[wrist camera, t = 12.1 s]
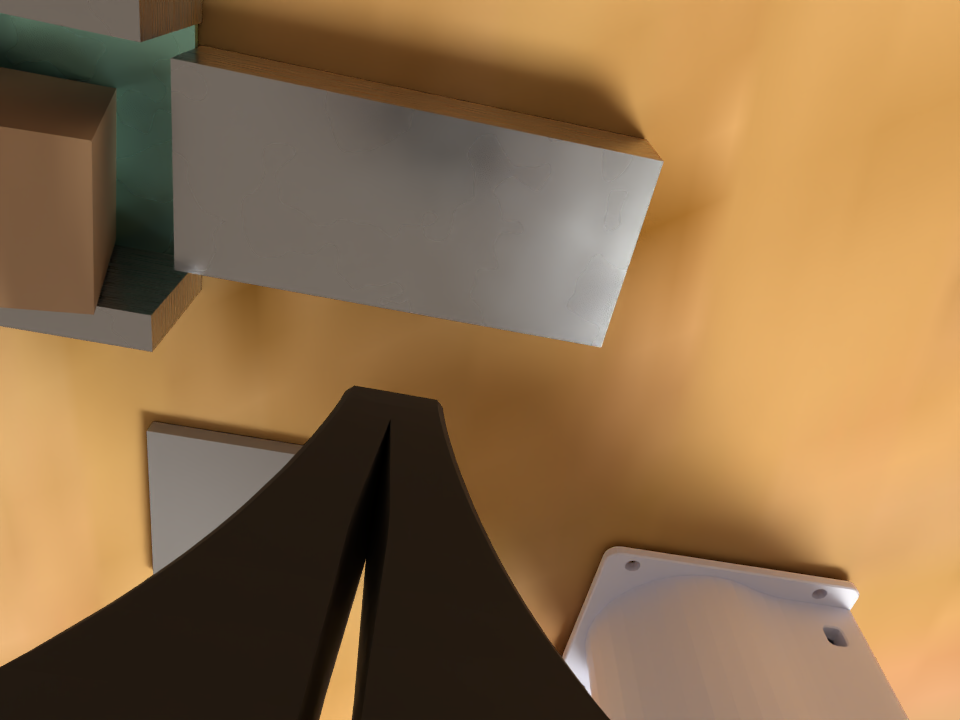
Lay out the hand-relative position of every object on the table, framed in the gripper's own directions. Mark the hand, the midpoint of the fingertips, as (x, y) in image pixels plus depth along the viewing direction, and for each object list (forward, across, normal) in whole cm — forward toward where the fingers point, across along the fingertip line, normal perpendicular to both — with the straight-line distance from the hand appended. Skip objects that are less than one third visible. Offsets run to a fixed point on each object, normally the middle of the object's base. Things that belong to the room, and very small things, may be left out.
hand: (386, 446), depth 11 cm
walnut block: (+8, +8, 0) cm, 11 cm away
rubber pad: (+10, +4, +12) cm, 16 cm away
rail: (+10, +4, -1) cm, 11 cm away
